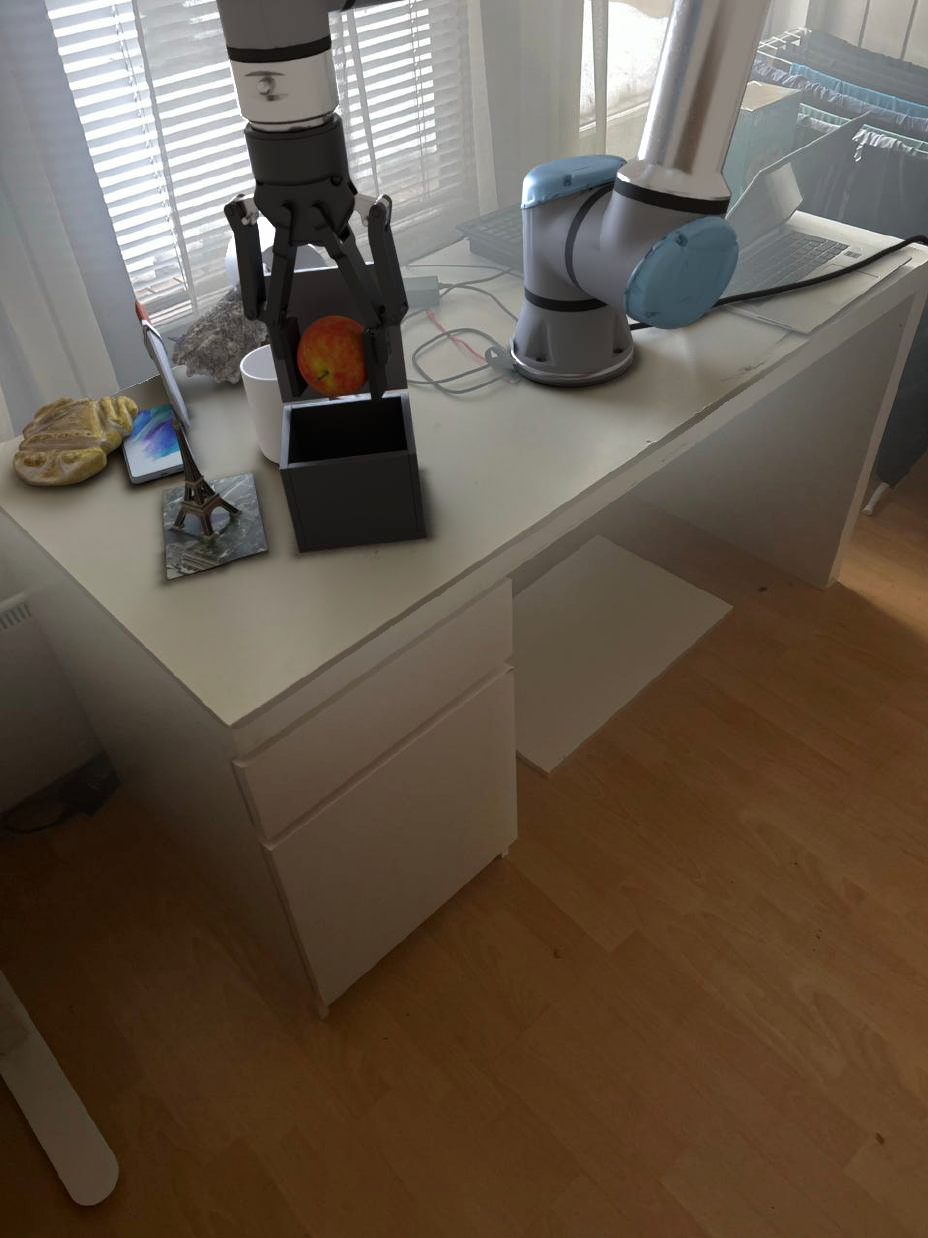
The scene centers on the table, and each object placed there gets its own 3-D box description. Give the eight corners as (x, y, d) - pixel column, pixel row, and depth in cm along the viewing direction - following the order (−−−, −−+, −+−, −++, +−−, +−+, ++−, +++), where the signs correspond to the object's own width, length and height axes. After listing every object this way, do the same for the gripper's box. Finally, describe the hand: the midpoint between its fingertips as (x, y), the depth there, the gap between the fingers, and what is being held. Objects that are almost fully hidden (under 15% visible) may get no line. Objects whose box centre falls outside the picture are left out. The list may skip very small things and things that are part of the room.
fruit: (379, 304, 82) (354, 345, 76) (387, 375, 86) (364, 418, 81) (306, 300, 83) (276, 340, 77) (317, 370, 87) (290, 412, 82)
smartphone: (130, 480, 99) (113, 417, 109) (133, 487, 100) (116, 424, 110) (195, 461, 101) (173, 401, 111) (197, 468, 101) (175, 407, 112)
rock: (158, 369, 116) (221, 407, 115) (146, 334, 110) (211, 374, 109) (249, 277, 123) (309, 312, 122) (242, 239, 117) (305, 276, 115)
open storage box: (426, 537, 90) (416, 453, 83) (299, 553, 89) (279, 469, 82) (418, 472, 98) (408, 391, 91) (301, 486, 98) (283, 405, 91)
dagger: (188, 451, 108) (142, 332, 126) (206, 445, 108) (157, 327, 127) (166, 406, 103) (122, 289, 121) (185, 399, 103) (138, 284, 122)
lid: (392, 261, 83) (392, 259, 84) (255, 276, 83) (256, 274, 83) (408, 388, 91) (407, 385, 91) (282, 403, 90) (282, 399, 91)
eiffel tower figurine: (271, 555, 89) (239, 437, 80) (167, 579, 88) (122, 462, 78) (253, 475, 100) (223, 363, 91) (160, 495, 98) (120, 383, 89)
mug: (372, 452, 102) (358, 364, 94) (266, 474, 100) (243, 386, 93) (357, 415, 108) (343, 329, 101) (257, 435, 106) (235, 350, 99)
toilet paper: (266, 343, 125) (240, 315, 133) (343, 307, 128) (313, 281, 135) (232, 260, 117) (206, 235, 125) (314, 223, 119) (284, 201, 127)
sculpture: (143, 389, 107) (86, 468, 97) (154, 414, 109) (100, 494, 99) (45, 391, 110) (-20, 468, 100) (58, 415, 112) (-5, 493, 102)
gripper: (149, 132, 68) (224, 406, 83) (405, 130, 63) (434, 419, 79) (192, 104, 73) (255, 367, 88) (431, 101, 69) (453, 377, 84)
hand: (340, 391), depth 84 cm, fingers closed on fruit, 7 cm apart
